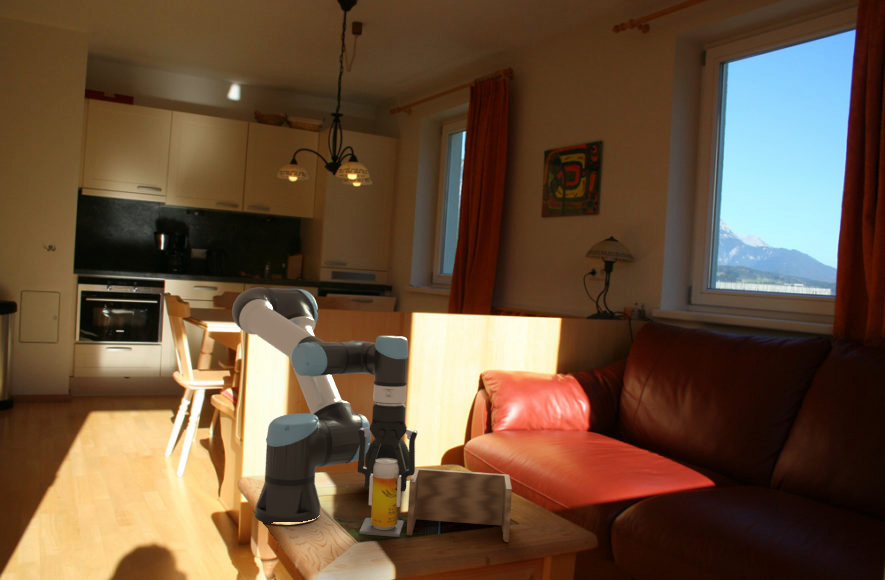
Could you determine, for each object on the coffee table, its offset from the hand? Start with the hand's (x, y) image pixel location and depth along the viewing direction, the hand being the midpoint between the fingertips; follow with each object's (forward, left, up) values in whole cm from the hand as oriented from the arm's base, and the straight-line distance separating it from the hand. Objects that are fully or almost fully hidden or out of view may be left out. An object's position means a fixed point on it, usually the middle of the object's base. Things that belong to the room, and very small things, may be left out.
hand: (384, 504), depth 158 cm
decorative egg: (-3, +31, -6) cm, 32 cm away
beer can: (0, 0, -5) cm, 5 cm away
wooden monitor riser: (+17, +3, -6) cm, 18 cm away
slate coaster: (0, 0, -6) cm, 6 cm away
